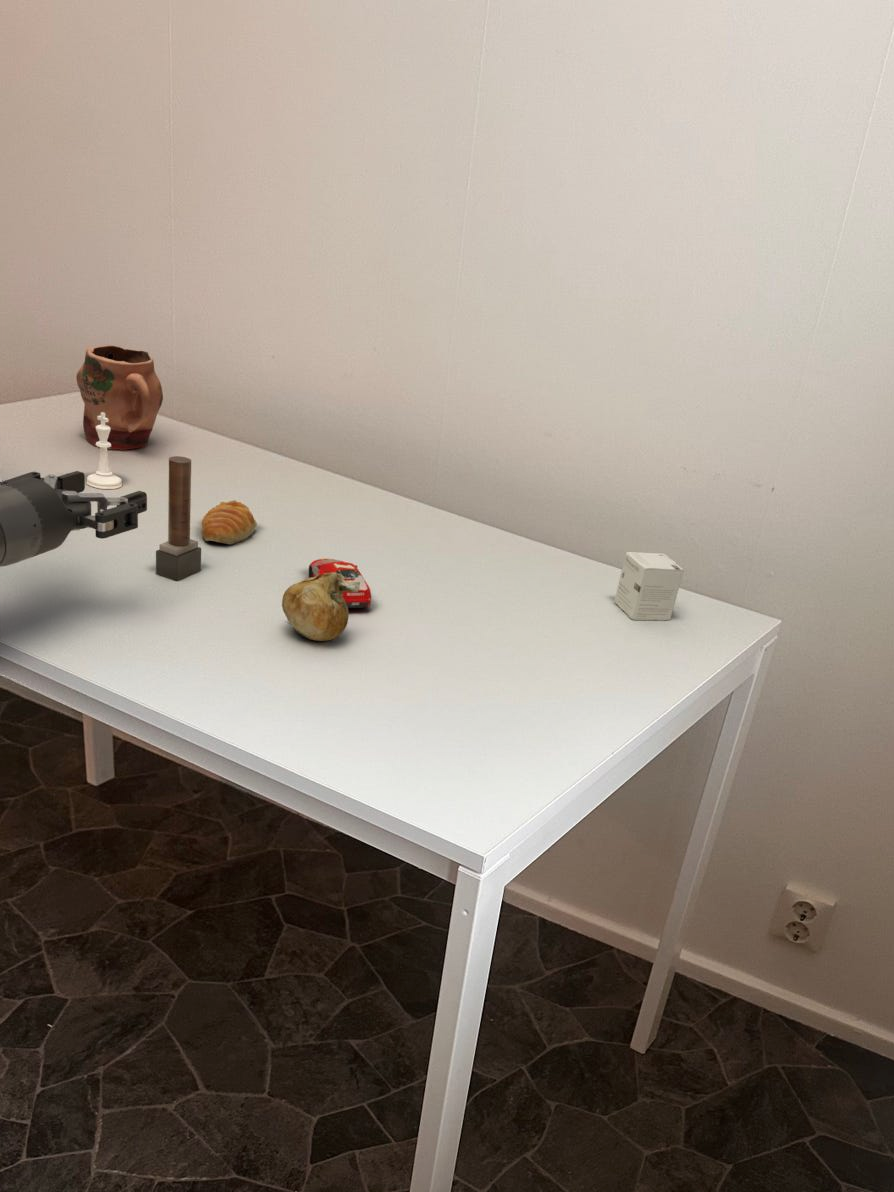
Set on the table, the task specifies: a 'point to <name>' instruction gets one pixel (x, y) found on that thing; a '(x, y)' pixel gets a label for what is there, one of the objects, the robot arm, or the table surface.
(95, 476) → the chess piece
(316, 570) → the race car
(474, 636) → the table surface
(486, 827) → the table surface
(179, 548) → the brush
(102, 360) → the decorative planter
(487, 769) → the table surface
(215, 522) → the pastry
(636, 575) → the product carton
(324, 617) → the onion
